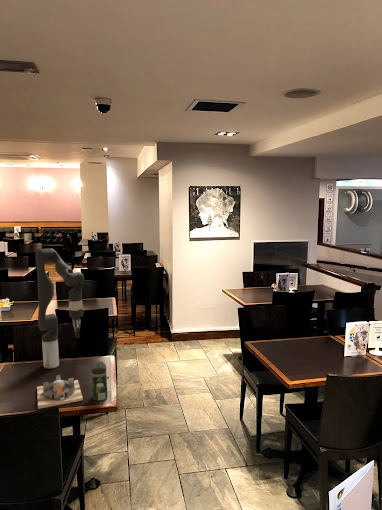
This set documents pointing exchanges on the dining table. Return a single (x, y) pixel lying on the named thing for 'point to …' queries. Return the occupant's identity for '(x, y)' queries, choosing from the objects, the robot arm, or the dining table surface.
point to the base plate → (73, 397)
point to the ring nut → (58, 389)
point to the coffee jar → (99, 381)
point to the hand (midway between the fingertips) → (77, 337)
